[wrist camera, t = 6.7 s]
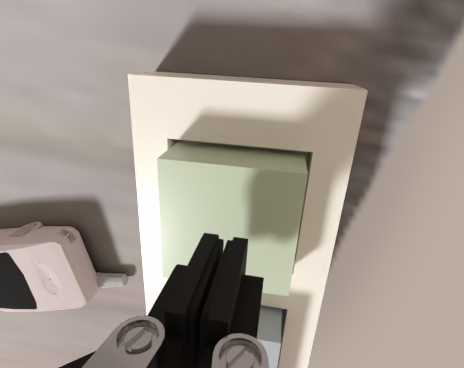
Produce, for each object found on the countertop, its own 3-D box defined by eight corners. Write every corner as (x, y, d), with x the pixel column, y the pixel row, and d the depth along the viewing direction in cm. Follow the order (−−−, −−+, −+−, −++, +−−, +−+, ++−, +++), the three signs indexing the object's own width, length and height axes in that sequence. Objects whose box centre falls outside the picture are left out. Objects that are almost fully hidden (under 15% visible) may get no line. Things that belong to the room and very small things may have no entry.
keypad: (154, 71, 16) (127, 74, 13) (352, 83, 15) (368, 90, 12) (170, 422, 28) (158, 461, 25) (281, 446, 26) (280, 491, 24)
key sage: (177, 142, 15) (157, 158, 12) (304, 154, 14) (307, 173, 12) (179, 247, 17) (162, 277, 15) (288, 262, 16) (288, 296, 14)
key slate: (180, 289, 18) (164, 323, 16) (281, 305, 17) (280, 343, 15) (181, 359, 20) (168, 397, 18) (271, 376, 20) (269, 418, 17)
